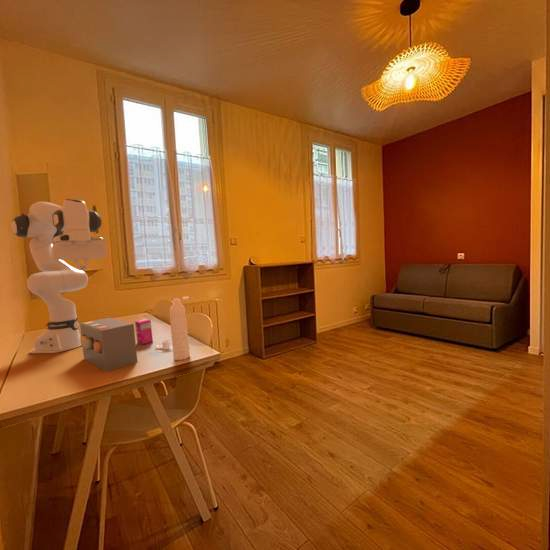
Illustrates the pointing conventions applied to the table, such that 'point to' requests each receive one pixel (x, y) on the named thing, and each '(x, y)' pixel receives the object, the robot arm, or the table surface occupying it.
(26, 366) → the table surface
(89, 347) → the sage button
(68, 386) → the table surface
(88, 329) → the box
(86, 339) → the ochre button
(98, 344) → the terracotta button
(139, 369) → the table surface
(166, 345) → the teacup and saucer
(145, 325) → the supplement box
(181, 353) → the water bottle
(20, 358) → the table surface
